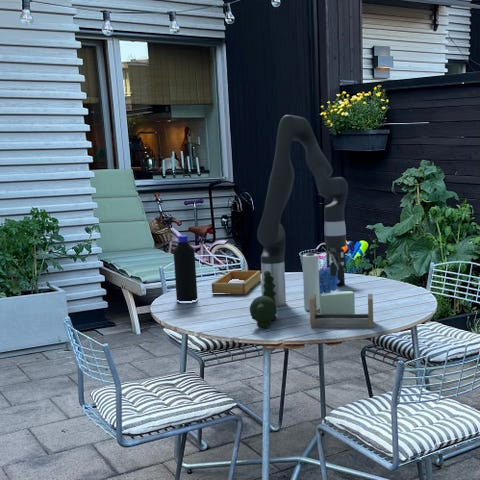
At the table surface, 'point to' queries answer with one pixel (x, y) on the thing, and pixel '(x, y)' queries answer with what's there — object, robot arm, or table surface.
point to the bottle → (185, 270)
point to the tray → (236, 288)
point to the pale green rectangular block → (337, 303)
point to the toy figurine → (265, 304)
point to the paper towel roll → (311, 279)
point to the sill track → (341, 317)
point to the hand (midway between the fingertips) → (337, 278)
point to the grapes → (327, 281)
